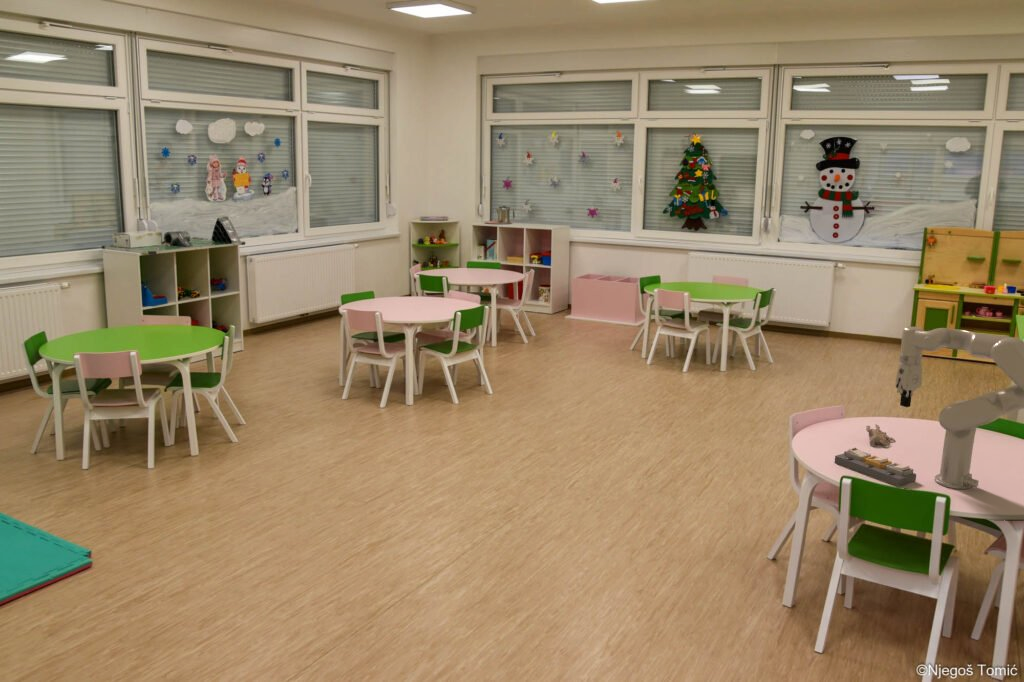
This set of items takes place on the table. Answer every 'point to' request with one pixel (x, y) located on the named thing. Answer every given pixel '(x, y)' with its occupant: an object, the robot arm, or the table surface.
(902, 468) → the rocker
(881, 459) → the rocker middle
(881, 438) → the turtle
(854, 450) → the rocker
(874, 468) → the rocker switch panel
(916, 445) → the table surface
